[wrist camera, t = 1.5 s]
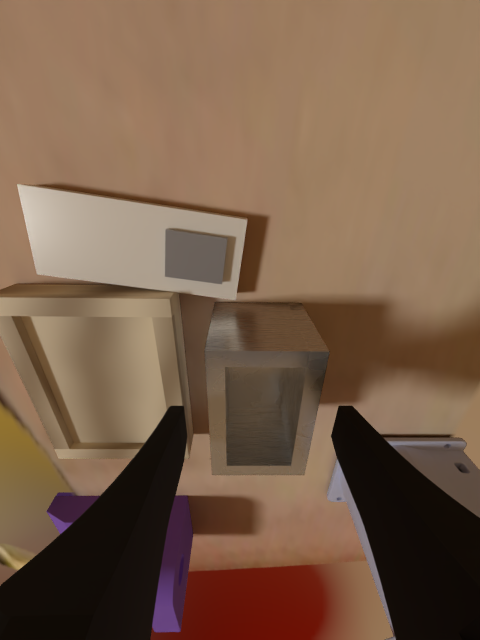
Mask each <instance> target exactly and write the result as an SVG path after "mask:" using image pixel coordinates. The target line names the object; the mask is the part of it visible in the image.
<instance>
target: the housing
mask: <svg viewBox="0 0 480 640" xmlns="http://www.w3.org/2000/svg"><path fill="white" fill-rule="evenodd" d="M329 352H330V351H329V350H328V348H327V346H326V345H325V343H324V341H323V339H322V338H321V336H320V334H319V333H318V331H317V329H316V327H315V326H314V324H313V322H312V321H311V319H310V317H309V315H308V314H307V312H306V310H305V309H304V307H303V305H302V303H220V302H215V304H214V309H213V313H212V318H211V323H210V327H209V332H208V337H207V341H206V346H205V367H206V384H207V400H208V417H209V433H210V450H211V467H212V475H304V474H305V469H306V464H307V459H308V455H309V450H310V445H311V440H312V435H313V430H314V425H315V420H316V416H317V411H318V406H319V401H320V396H321V391H322V386H323V381H324V376H325V372H326V367H327V362H328V357H329Z"/></svg>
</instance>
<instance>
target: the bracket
mask: <svg viewBox="0 0 480 640" xmlns="http://www.w3.org/2000/svg"><path fill="white" fill-rule="evenodd" d="M99 497H100V496H74V494H73V492H59V493H57V495H56V496H55V498H54V500H53V502H52V503H51V505H50V506H49V508H48V510H47V513H48V515H49V516H50V518H51V519H52V521H53V523H54V524H55V526H56V527H57V529H58V531H59V533H60V534H61V533H62V532H64V531H65V530H66V529H67V528H68V527H69V526H70V525H71V524H72V523H73V522H74V521H76V520H77V519H78V518H79V517H80V516H81V515H82V514H83V513H84V512H85V511H86V510H87V509H88V508H89V507H90V506H91V505H92V504H93V503H94V502H95V501H96V500H97V499H98V498H99ZM192 539H193V530H192V523H191V516H190V509H189V503H188V496H175V498H174V502H173V506H172V510H171V514H170V519H169V524H168V528H167V534H166V540H165V546H164V552H163V558H162V564H161V571H160V577H159V583H158V590H157V596H156V603H155V610H154V616H153V623H152V627H153V629H154V631H155V632H180V631H181V623H182V615H183V608H184V600H185V592H186V584H187V577H188V570H189V562H190V554H191V547H192Z"/></svg>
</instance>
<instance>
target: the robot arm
mask: <svg viewBox="0 0 480 640" xmlns="http://www.w3.org/2000/svg"><path fill="white" fill-rule="evenodd" d="M187 437H188V435H187V427H186V418H185V410H184V406H170V407H169V408H168V409H167V411H166V413H165V414H164V416H163V418H162V419H161V421H160V422H159V424H158V425H157V427H156V428H155V430H154V431H153V432H152V434H151V435H150V437H149V438H148V439H147V441H146V442H145V444H144V445H143V446H142V448H141V449H140V450H139V452H138V453H137V454H136V455H135V457H134V458H133V459H132V460H131V462H130V463H129V464H128V465H127V467H126V468H125V469H124V470H123V471H122V472H121V474H120V475H119V476H118V477H117V478H116V479H115V481H114V482H113V483H112V484H111V485H110V486H109V487H108V488H107V489H106V490H105V491H104V493H103V494H102V495H101V496H100V497H99V498H98V499H97V500H96V501H95V502H94V503H93V504H92V505H91V506H90V507H89V508H88V509H87V510H86V511H85V512H84V513H83V514H82V515H81V516H80V517H79V518H78V519H77V520H76V521H74V522H73V523H72V524H71V525H70V526H69V527H68V528H67V529H66V530H65V531H64V532H62V533H61V534H60V535H59V536H58V537H57V538H56V539H55V540H54V541H53V542H52V543H50V544H49V545H48V546H47V547H46V548H45V549H44V550H42V551H41V552H40V553H39V554H38V555H36V556H35V557H34V558H33V559H32V560H30V561H29V562H28V563H27V564H26V565H24V566H23V567H22V568H21V569H20V570H18V571H17V572H16V573H15V574H14V575H12V576H11V577H10V578H9V579H8V580H6V581H5V582H4V583H3V584H2V585H1V586H0V640H150V637H151V630H152V623H153V616H154V610H155V603H156V596H157V590H158V583H159V577H160V571H161V564H162V558H163V552H164V546H165V540H166V534H167V528H168V524H169V519H170V514H171V510H172V506H173V502H174V498H175V494H176V491H177V487H178V483H179V479H180V475H181V471H182V467H183V463H184V458H185V451H186V444H187ZM331 437H332V441H333V445H334V449H335V452H336V456H337V461H336V464H335V468H334V471H333V475H332V478H331V482H330V485H329V489H328V492H327V498H328V500H329V501H331V502H347V505H348V508H349V511H350V514H351V516H352V519H353V522H354V525H355V528H356V531H357V533H358V536H359V539H360V542H361V545H362V548H363V550H364V553H365V556H366V559H367V562H368V565H369V567H370V570H371V573H372V576H373V579H374V581H375V585H376V587H377V590H378V593H379V596H380V599H381V602H382V604H383V607H384V610H385V613H386V616H387V618H388V621H389V624H390V627H391V630H392V632H393V637H391V638H388V639H385V640H480V470H479V469H478V468H477V467H476V465H475V464H474V463H473V462H472V461H471V460H470V459H469V458H468V456H467V455H466V454H465V453H464V452H463V450H464V449H465V447H466V444H467V443H466V442H465V441H464V440H463V439H462V438H383V437H382V436H381V435H380V434H379V433H378V432H377V431H376V430H375V429H374V428H373V427H372V426H371V425H370V424H369V423H368V422H367V421H366V420H365V419H364V418H363V417H362V416H361V415H360V414H359V412H358V411H357V410H356V409H355V408H354V407H353V406H339V407H338V411H337V415H336V419H335V423H334V427H333V431H332V435H331Z"/></svg>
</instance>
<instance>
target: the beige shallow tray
mask: <svg viewBox="0 0 480 640" xmlns="http://www.w3.org/2000/svg"><path fill="white" fill-rule="evenodd" d="M0 336H1V338H2V340H3V342H4V344H5V346H6V349H7V351H8V353H9V355H10V357H11V359H12V361H13V363H14V365H15V367H16V369H17V372H18V374H19V376H20V378H21V380H22V382H23V384H24V386H25V388H26V390H27V393H28V395H29V397H30V399H31V401H32V403H33V405H34V407H35V409H36V411H37V413H38V416H39V418H40V420H41V422H42V424H43V426H44V428H45V430H46V432H47V434H48V436H49V439H50V441H51V443H52V445H53V447H54V449H55V451H56V453H57V455H58V457H59V459H133V458H134V457H135V455H136V454H137V453H138V452H139V450H140V449H141V448H142V446H143V445H144V444H145V442H146V441H147V439H148V438H149V437H150V435H151V434H152V432H153V431H154V430H155V428H156V427H157V425H158V424H159V422H160V421H161V419H162V418H163V416H164V414H165V413H166V411H167V409H168V408H169V407H170V406H184V410H185V418H186V427H187V435H188V437H187V444H186V451H185V458H184V459H189V456H190V450H191V445H192V440H193V425H192V415H191V405H190V396H189V386H188V376H187V366H186V356H185V346H184V337H183V327H182V317H181V307H180V297H179V293H177V292H169V291H161V290H154V289H146V288H138V287H131V286H123V285H66V284H14V285H11V286H9V287H6V288H4V289H1V290H0Z"/></svg>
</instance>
